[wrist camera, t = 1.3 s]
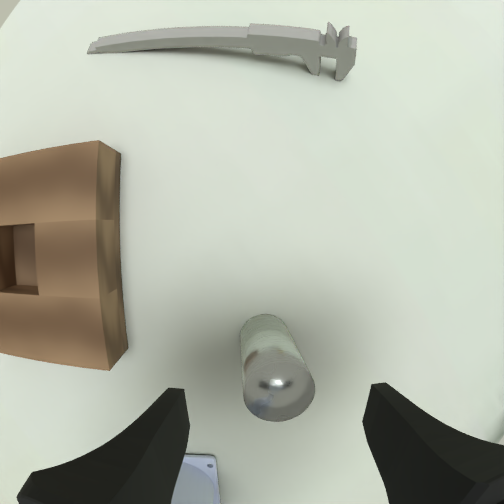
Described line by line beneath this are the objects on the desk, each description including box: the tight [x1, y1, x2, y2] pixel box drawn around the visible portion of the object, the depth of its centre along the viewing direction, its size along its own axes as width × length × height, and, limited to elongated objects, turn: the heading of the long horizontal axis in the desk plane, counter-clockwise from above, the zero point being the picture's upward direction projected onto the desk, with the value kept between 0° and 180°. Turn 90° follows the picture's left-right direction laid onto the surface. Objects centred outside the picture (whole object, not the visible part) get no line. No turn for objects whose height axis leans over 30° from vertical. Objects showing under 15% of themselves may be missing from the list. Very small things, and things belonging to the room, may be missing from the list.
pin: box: [240, 314, 315, 422], centre depth 18 cm, size 3×3×8 cm
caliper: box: [87, 22, 357, 81], centre depth 17 cm, size 20×1×6 cm, turn 80°
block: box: [0, 140, 128, 371], centre depth 18 cm, size 14×14×4 cm
